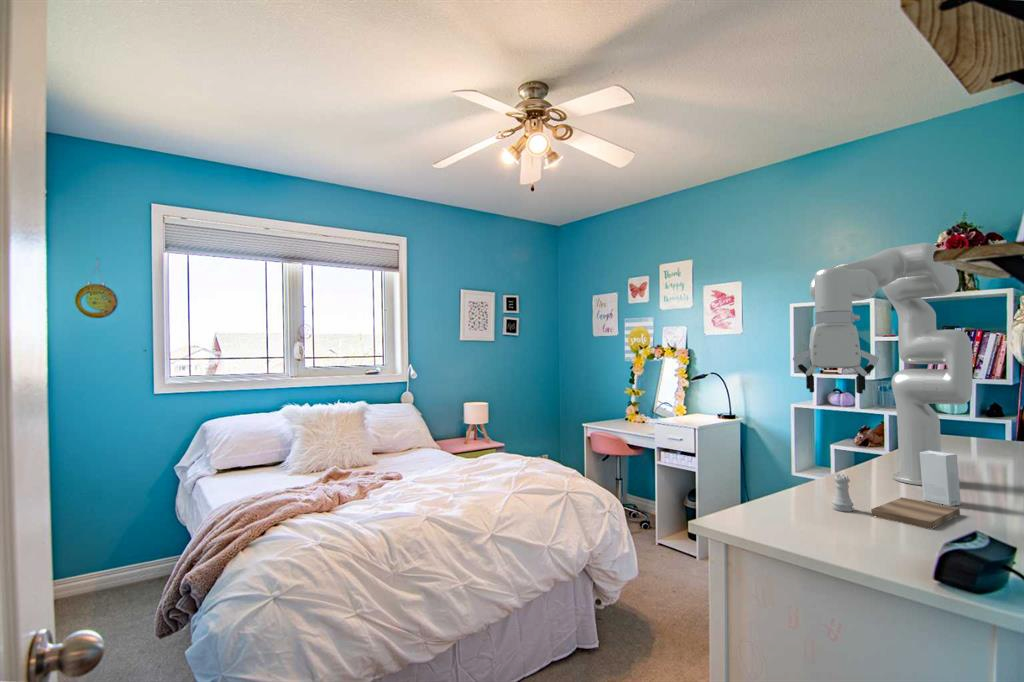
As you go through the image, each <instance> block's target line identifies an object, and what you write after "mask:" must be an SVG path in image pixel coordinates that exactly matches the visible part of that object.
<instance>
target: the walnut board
mask: <svg viewBox="0 0 1024 682" xmlns="http://www.w3.org/2000/svg"><path fill="white" fill-rule="evenodd" d="M870 514H871V515H870V516H871V517H874V516H876V517H875V518H879V517H880V518H879V519H883V518H884V520H888V519H889V521H892V520H893V521H892V522H896V521H898V522H897V523H901V522H903V523H902V524H905V523H907V524H906V525H910V524H911V525H910V526H914V525H915V526H914V527H919V528H923V527H925V528H924V529H927V528H930V529H929V530H932V529H931V528H933V527H935V526H937V525H939V524H941V523H943V522H945V521H947V520H949V519H951V518H953V517H955V516H957V517H958V515H959V516H960V515H961V511H960V508H959V507H957V506H956V507H955V506H947V505H942V504H938V503H934V502H929V501H925V500H919V499H913V498H908V497H904V496H903V497H899V498H897V499H894V500H892V501H888V502H886V503H884V504H882V505H879V506H876V507H873V508H871V513H870ZM955 518H956V517H955ZM953 519H954V518H953ZM951 520H952V519H951ZM949 521H950V520H949ZM947 522H948V521H947ZM945 523H946V522H945ZM943 524H944V523H943ZM941 525H942V524H941ZM939 526H940V525H939ZM937 527H938V526H937ZM935 528H936V527H935ZM933 529H934V528H933Z"/></svg>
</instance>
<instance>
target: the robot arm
mask: <svg viewBox="0 0 1024 682" xmlns="http://www.w3.org/2000/svg"><path fill="white" fill-rule="evenodd" d="M936 250H941V249H940V248H939V247H937V246H936V245H935V244H933V243H931V242H919V243H913V244H908V245H900V246H895V247H890V248H886V249H883V250H881V251H878V252H877V253H875V254H873V255H871V256H868V257H866V258H863V259H860V260H856V261H853V262H850V263H847V264H843V265H840V266H836V267H828V268H821V269H819V270H818V271H816V272H815V274H814V277H813V278H812V280H811V281H810V284H809V295H810V297H811V298H812V299H813V301H814V316H815V317H814V318H815V319H814V321H815V323H814V325H815V326H812V327H811V328H810V335H809V345H808V346H809V348H808V350H806V351H804V352H801V353H799V354H798V355H795V356H794V357H792V360H793V363H794V364H795V365H796V367H797V368H798V370H800V371H801V372H802V374H804V375H805V379H806V380H805V381H806V383H805V384H806V389H807V390H808V391H809V393H812V394H813V393H814V392H815V376H814V375H813V373H814V372H815V371H816V370H817V369H818V368H821V369H822V368H823V369H824V368H828V369H829V368H830V369H835V368H836V369H844V368H845V369H853V370H854V371H855V373H857V376H855V380H856V381H855V382H856V383H855V384H856V388H855V389H856V394H860V395H861V394H863V393H864V392H863V391H866V376H867V375H868V374H869V373H870V372H872V371H873V370H874V369H875V368H876V365H877V363H878V362H879V361H880V357H879V356H877V355H875V354H872V353H869V352H867V351H865V350H862V349H861V346H860V345H861V344H860V338H859V332H858V328H857V326H856V325H854V322H857V321H860V320H861V316H860V314H855V313H854V312H853V302H859V301H866V300H868V299H871V298H872V297H873V296H875V295H876V294H877V292H878V290H879V289H881V290H882V291H883V293H884V295H885V296H886V298H887V299H888V300H889V302H890V303H891V305H892V307H893V308H894V310H895V311H896V314H897V319H898V320H897V321H898V335H897V337H898V342H897V344H898V355H899V358H900V360H902V362H903V363H906V364H911V365H913V364H914V365H945V366H946V367H947V368H946V369H945V368H942V369H941V368H939V369H938V368H937V369H936V368H906V369H901V370H899V371H896V372H895V373H894V374H893V376H892V378H891V381H890V382H891V383H890V384H891V390H892V394H893V398H894V401H895V407H896V409H895V410H896V422H897V445H898V447H897V448H898V449H897V450H898V468H899V469H898V471H897V472H894V473H893V474H892V478H893V479H894V480H896V481H898V482H901V483H905V484H911V485H917V486H922V474H921V462H920V452H924V451H936V452H942V441H941V440H942V439H941V421H940V417H939V415H938V414H937V412H936V411H935V410H934V409H933V408H932V407H931V406H930V404H932V405H933V404H935V405H937V404H938V405H954V406H955V405H959V406H960V405H965V404H967V403H968V402H970V400H971V398H972V395H973V348H972V347H973V346H972V342H971V339H970V337H969V335H968V334H967V333H966V332H965V331H962V330H960V329H937V314H936V311H935V310H934V308H933V307H932V306H931V305H930V304H929V303H928V302H926V301H925V299H923V298H932V297H945V296H949V295H952V294H953V293H955V292H956V291H957V290H958V288H959V284H960V279H959V278H960V277H959V273H958V270H957V269H956V268H955V266H954V267H952V266H948V265H943V264H939V263H935V262H934V261H933V254H934V252H935V251H936ZM806 358H808V361H809V365H810V366H809V367H806V366H805V365H804V364H803V363H802V361H803V359H806ZM862 358H865V359H867V360H868V361H869V362H868V363H867V365H866V366H865V367H862V366H861V364H862Z"/></svg>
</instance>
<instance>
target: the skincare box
mask: <svg viewBox="0 0 1024 682" xmlns="http://www.w3.org/2000/svg"><path fill="white" fill-rule="evenodd" d="M920 462H921V474H922V485H921V486H922V495H923V496H922V497H923V498H922V499H923V501H924V502H929V501H930V502H929V503H935V504H940V505H942V504H943V505H945V506H950V507H955V505H957V506H960V505H961V493H960V492H961V491H960V489H961V488H960V477H959V465H958V455H957V454H956V453H949V452H942V451H941V452H936V451H924V452H920Z"/></svg>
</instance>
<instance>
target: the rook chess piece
mask: <svg viewBox="0 0 1024 682" xmlns="http://www.w3.org/2000/svg"><path fill="white" fill-rule="evenodd" d="M833 480H834V482H835V485H834V486H835V495H834V498H833V500H831V501H832V502H831V503H832V505H831V507H832V508H833V510H835V511H838V512H841V511H842V512H843V513H852V512H853V511H854V510H855V508H854V503H853V502H852V499H851V497H850V493H849V487H850V486H849V482H850V481H851V479H849V475H847V474H840V473H838V474H835V477H834V478H833Z"/></svg>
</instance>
